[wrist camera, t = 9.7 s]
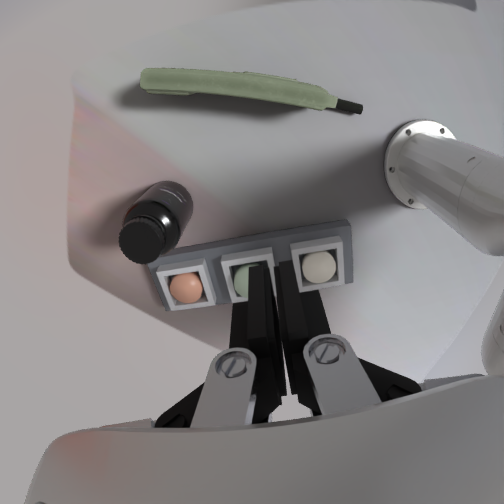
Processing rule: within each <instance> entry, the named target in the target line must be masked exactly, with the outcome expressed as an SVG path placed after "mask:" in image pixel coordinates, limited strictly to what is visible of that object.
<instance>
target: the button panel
mask: <svg viewBox="0 0 504 504" xmlns="http://www.w3.org/2000/svg"><path fill="white" fill-rule="evenodd" d="M323 250H328V251H329V252H330V253H331V254H332V256H333V258H334V261H335V263H336V271H335V273H334V275H333V276H332V277H331V278H330V279H329V280H328V281H326V282H323V283H313V282H310V281H309V280H307V279H306V278H305V276H304V274H303V270H302V266H301V261H302V258H303V256H304V254H305V253H311V252H317V251H323ZM287 260H293V264H294V269H295V273H296V278H297V283H298V287H299V292H306V291H311V290H317V289H323V288H329V287H334V286H340V285H345V284H348V283H353V256H352V234H351V225H350V223H349V222H348V220H340V221H334V222H328V223H322V224H315V225H309V226H303V227H297V228H291V229H285V230H279V231H273V232H267V233H261V234H256V235H250V236H244V237H238V238H232V239H227V240H221V241H215V242H209V243H204V244H198V245H192V246H187V247H181V248H176V249H173V250H172V251H170V252H169V253H167V254H165V255H163V256H159V257H158V258H157V260H154V262H151V263H149V264H147V265H148V267H149V270H150V273H151V275H152V278H153V280H154V283H155V285H156V288H157V290H158V293H159V295H160V298H161V300H162V303H163V305H164V307H165V310H166V311H175V310H184V309H191V308H199V307H207V306H214V305H217V304H225V303H235V302H242V301H248V298H245V297H243V296H241V295H239V294H238V293H237V291H236V290H235V288H234V278H235V272H236V270H237V269H238V268H239V267H240V266H241V265H243V264H245V263H257V264H260V265H263V266H264V268H268V267H269V269H270V274H271V279H272V285H273V290H274V295H275V296H277V295H276V285H275V276H274V266H279V262H281V261H287ZM189 272H197V273H198V274H199V275H200V277H201V281H202V284H203V289H202V294H201V297H200V298H199V299H198V300H197V301H195V302H193V303H183V302H180V301H178V300H177V299H175V298H174V297H173V295H172V294H171V291H170V285H171V282H172V279H173V277H174V275H176V274H182V273H189Z"/></svg>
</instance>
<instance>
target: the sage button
mask: <svg viewBox="0 0 504 504" xmlns="http://www.w3.org/2000/svg"><path fill="white" fill-rule="evenodd" d="M257 265H260V264H257V263H245V264H243V265H241V266H240V267H239V268H238V269H237V270H236V272H235V278H234V288H235V290H236V291H237V293H238V294H239V295H241V296H243V297H245V298H248V274H249V267H251V266H257Z"/></svg>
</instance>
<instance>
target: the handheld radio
mask: <svg viewBox="0 0 504 504" xmlns="http://www.w3.org/2000/svg"><path fill="white" fill-rule="evenodd" d="M140 87H141V88H142V89H143V90H146V91H147V93H150V94H167V95H184V96H186V95H191V94H195V93H206V94H217V95H226V96H235V97H243V98H251V99H258V100H264V101H271V102H277V103H283V104H289V105H294V106H299V107H305V108H310V109H314V110H320V111H322V110H324V109H325V108H326V107H330V108H336V109H340V110H344V111H348V112H352V113H356V114H361V113H362V111H363V105H361V104H357V103H353V102H349V101H346V100H342V99H338V97H335V96H332V95H330V94H329V93H328V92H327V91H326V90H325V89H323V88H322V87H319V86H317V85H311V84H308V83H303V82H298V81H297V80H296V79H290V78H285V77H279V76H273V75H266V74H260V73H252V72H246V71H245V72H243V73H240V72H223V71H211V70H197V69H176V68H146V69H144V70H143V71H142V72H141V79H140Z"/></svg>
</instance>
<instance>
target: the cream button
mask: <svg viewBox="0 0 504 504" xmlns="http://www.w3.org/2000/svg"><path fill="white" fill-rule="evenodd" d="M301 266H302V270H303V274H304V276H305V278H306V279H307V280H309V281H310V282H313V283H323V282H326V281H328V280H329V279H330V278H331V277H332V276H333V275H334V273H335V271H336V263H335V261H334V258H333V256H332V254H331V253H330V252H329V251H328V250H323V251H317V252H311V253H305V254H304V256H303V258H302V261H301Z"/></svg>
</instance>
